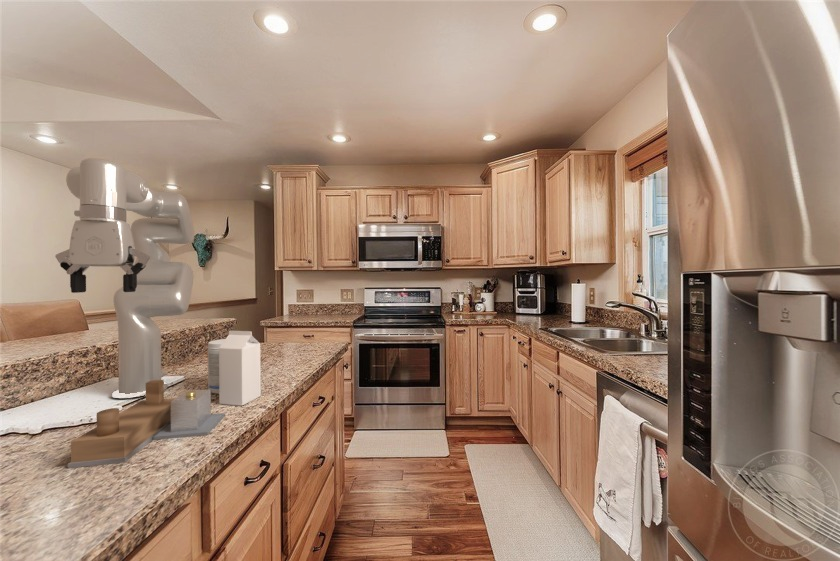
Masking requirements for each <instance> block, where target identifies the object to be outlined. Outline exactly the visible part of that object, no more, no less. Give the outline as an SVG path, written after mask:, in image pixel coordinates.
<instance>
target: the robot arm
mask: <svg viewBox="0 0 840 561" xmlns="http://www.w3.org/2000/svg"><path fill="white" fill-rule="evenodd" d="M65 179H66V180H65V181H66V182H65V183H66V186H67V187H68V190H69V191H70V193H71V194H72V195H73V196H74V197H75V198H76V199H78V200H79V209H78V210H74V212H73V214H74V216H75V217H79V220H78V219H76V220H75V221H74V224H73V226H72V230H71V234H70V240H69V249H66V250H63V251H61V252H59V253H57V254H55V256H54V257H55V259H57V260H56V261H57V262H58V263H59V264H60V265H59V266H60V267H61V268H62V269H63V270H64V271H65V272H66V274H67V275H69V277H70V278H69V281H70V282H69V283H70V284H69V286H70V292H71V293H72V294H76V293H77V294H78V293H86V291H87V276H86V274H84V273H85V272H86V271H87V269H89V268H90V267H120V269H122V270H123V271H124V272H125V274H123V276H122V287H120V288H118V289H117V290H116V291H115V292H114V295H113V305H114V306H113V307H114V311H115V315H116V321H117V335H118V336H117V337H118V340H117V341H118V346H117V348H118V349H117V350H118V351H117V352H118V356H117V357H118V389H119V393H125V394H130V393H137V392H143V391H146V383H147V382H149V381H151V380H162V378H163V377H165V376H167V371H166V370H165V369H164V370H163V369H162V331H161V328H160V327H159V325H158V324H157V323H155V321H154V320H153V319H152V318H156V317H174V316H182V315H183V314H186V312H187V311H188V309H189V306H190V302H191V296H192V292H193V286H194V273H193V272H194V271H193V268H192V267H191V265H190V264H188V263H186V262H181V261H171V257H170V255H169V254H168V252H167V251H166V250H165V249H164V248H162V247H161V246H160V245H158V244H171V245H175V244H176V245H187V244H190V243H192V242H193V241H194V239H195V228H194V224H193V219H192V213H191V209H190V206H189V203H188V201H187V198H186V197H185V196H184V195H182V193H178V192H171V191H159V190H153V189H152V188H151V187H149V186H148V183H147V182H146V181H145V180H144V178H142V177H141V176H140V175H138V174H137V173H135V172H133V171H129V170H127V169H125V167H124V166H122V165H121V163H117V162H115V161H111V160H109V159H101V158H92V157H90V158H85V159H83V160H81V161H80V163H79V166H77V167H73V168H71V169H70V170H69V171H68V172H67V174H66V178H65ZM127 211H128V212H132V213H135V214H137V215H140V216H143V217H144V218H143V217H142V218H138V219H136V220H134V221H133V222H132V223H131V226H130V223H127ZM135 258H136V259H135ZM168 387H169V384H168V383H167V384H164V391H166V390H167V389H168Z"/></svg>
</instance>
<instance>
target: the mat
mask: <svg viewBox="0 0 840 561" xmlns="http://www.w3.org/2000/svg"><path fill="white" fill-rule="evenodd" d="M225 416H226V413H225V412H222V413H221V412H220V413H211V417H210V418H209V419H208V420H207V421H206V422H205V423H204V424H203V425H202V426H201V427H200V428H199V429H198V430H191V431H181V432H171V423H170V424H169V425H168V426H166V427H165V428H164V429H163V430H162V431H160V432H159V433H158V434H157V435H155V436H154V437H153V440H154V441H157V440H166V439H167V440H168V439H176V438H177V439H178V438H186V437H198V436H207V435H209V434H210V433H211V432H212V431H213V429H214V428H215V427H216V426H217V425H218V424H219V423H220V422H221V421H222V420H223V418H225ZM153 440H152V441H153Z"/></svg>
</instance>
